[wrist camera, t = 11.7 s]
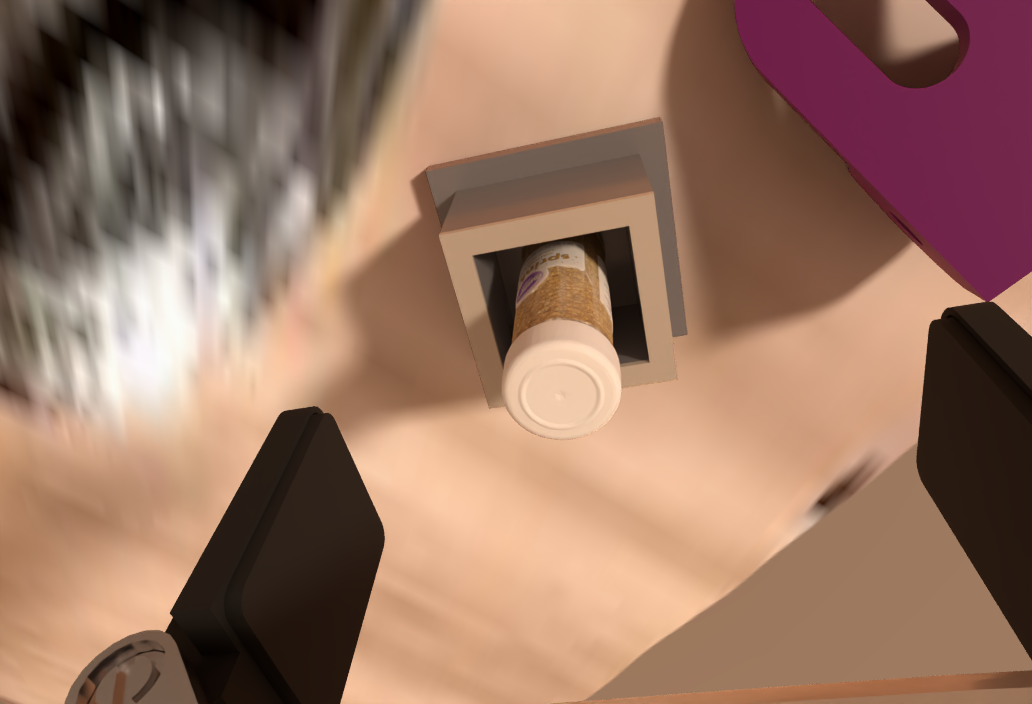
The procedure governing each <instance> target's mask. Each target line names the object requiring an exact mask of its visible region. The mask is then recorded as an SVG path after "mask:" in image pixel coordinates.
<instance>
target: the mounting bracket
mask: <svg viewBox="0 0 1032 704" xmlns="http://www.w3.org/2000/svg"><path fill="white" fill-rule="evenodd" d="M926 1H927V2H928V3H929V4H930V5H931V6H932V7H933V8H934V9H935V10H936V11H937V12H938V13H939V14H940V15H941V16H942V17H943V18H944V19H945V20H946V21H947V22H948V23H949V24H950V25H951V26H952V27H953V28H954V30H955V31H956V33H957V35H958V38H959V43H960V52H959V57H958V61H957V63H956V65H955V67H954V69H953V71H952V72H951V74H950V75H949V76H948V77H947V78H946V79H945V80H943V81H942V82H940V83H938V84H935V85H933V86H929V87H925V88H906V87H903V86H900V85H898V84H896V83H894V82H892V81H891V80H890V79H889V78H888V77H887V76H886V75H885V74H884V73H883V72H882V71H881V70H880V69H879V68H877V67H876V66H875V65H874V64H873V63H872V62H871V61H870V60H869V59H868V58H867V57H866V56H865V55H864V54H863V53H862V52H861V51H860V50H859V49H858V48H857V47H856V46H855V45H854V44H853V43H852V42H851V41H850V40H849V39H848V38H847V37H846V36H845V35H844V34H843V33H842V32H841V31H840V30H839V29H838V28H837V27H836V26H835V25H834V24H833V23H832V22H831V21H830V20H829V19H828V18H827V17H826V16H825V15H824V14H823V13H822V12H821V11H820V10H819V9H818V8H817V7H816V6H815V5H814V4H813V3H812V2H811V1H810V0H735V15H736V22H737V26H738V30H739V34H740V37H741V40H742V42H743V45H744V47H745V49H746V52H747V54H748V56H749V58H750V60H751V62H752V64H753V65H754V67H755V68H756V70H757V71H758V72H759V74H760V75H761V76H762V77H763V78H764V79H765V81H766V82H767V83H768V84H769V85H770V86H771V87H772V88H773V89H774V90H775V91H776V92H777V93H778V94H779V95H780V96H781V97H782V98H783V99H784V100H785V101H786V102H787V103H788V104H789V105H790V106H791V107H792V108H793V109H794V110H795V111H796V112H797V113H798V114H799V115H800V116H801V117H802V118H803V119H804V120H805V121H806V122H807V123H808V124H809V125H810V126H811V127H812V128H813V129H814V130H815V132H816V133H817V134H818V135H819V136H820V137H821V138H822V139H823V140H824V141H825V142H826V143H827V144H828V145H829V146H830V147H831V148H832V149H833V150H834V151H835V152H836V153H837V154H838V155H839V156H840V157H841V158H842V159H843V160H844V161H845V162H846V163H847V165H848V166H849V167H850V168H849V169H848V171H849V173H850V174H851V175H852V177H853V178H854V179H855V180H856V181H857V183H858V184H859V185H860V186H861V187H862V188H863V189H864V190H865V191H866V193H867V194H868V195H869V196H870V197H871V198H872V199H873V200H874V201H875V202H876V203H877V204H878V205H879V206H880V208H881V209H882V210H883V211H884V212H885V213H886V214H887V215H888V216H889V217H890V218H891V219H892V220H893V221H894V222H895V224H896V225H897V226H898V227H899V228H900V229H901V230H902V231H903V232H904V233H905V234H906V235H907V236H908V237H909V238H910V239H911V240H912V241H913V242H914V243H915V244H916V245H917V246H918V247H919V248H920V249H922V250H923V251H924V252H925V253H926V254H927V255H928V256H929V257H930V258H931V259H932V260H933V261H934V262H935V263H936V264H937V265H938V266H939V267H940V268H941V269H943V270H944V271H945V272H946V273H947V274H948V275H949V276H950V277H951V278H953V279H954V280H955V281H956V282H957V283H958V284H960V285H961V286H962V287H963V288H965V289H966V290H968V291H970V292H971V293H973V294H975V295H976V296H978V297H980V298H981V299H983V300H984V301H986V302H989V301H991V300H992V299H993V298H995V297H996V296H998V295H999V294H1000V293H1002V292H1003V291H1005V290H1006V289H1008V288H1009V287H1010V286H1012V285H1013V284H1015V283H1016V282H1017V281H1019V280H1020V279H1022V278H1023V277H1024V276H1026V275H1027V274H1029V273H1030V272H1031V271H1032V0H926Z"/></svg>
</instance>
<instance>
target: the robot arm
mask: <svg viewBox="0 0 1032 704" xmlns="http://www.w3.org/2000/svg"><path fill="white" fill-rule="evenodd" d="M917 469H918V472H919V476H920V478H921V481H922V483H923V485H924V486H925V488H926V489H927V491H928V493H929V494H930V496H931V497H932V499H933V501H934V502H935V504H936V505H937V507H938V509H939V510H940V512H941V514H942V515H943V517H944V519H945V520H946V522H947V523H948V525H949V527H950V528H951V530H952V532H953V533H954V535H955V536H956V538H957V540H958V541H959V543H960V545H961V546H962V548H963V549H964V551H965V553H966V554H967V556H968V558H969V559H970V561H971V562H972V564H973V566H974V567H975V569H976V570H977V572H978V574H979V575H980V577H981V578H982V580H983V582H984V584H985V585H986V587H987V588H988V590H989V591H990V593H991V595H992V596H993V598H994V600H995V601H996V603H997V605H998V606H999V608H1000V609H1001V611H1002V613H1003V614H1004V616H1005V618H1006V619H1007V621H1008V622H1009V624H1010V626H1011V627H1012V629H1013V630H1014V632H1015V634H1016V635H1017V637H1018V639H1019V640H1020V642H1021V644H1022V645H1023V647H1024V648H1025V650H1026V652H1027V653H1028V655H1029V657H1030V658H1031V659H1032V337H1031V336H1030V335H1029V334H1028V333H1027V332H1026V331H1025V330H1024V329H1023V328H1022V327H1021V326H1019V325H1018V324H1017V323H1016V322H1015V321H1014V320H1013V319H1012V318H1011V317H1010V316H1009V315H1008V314H1007V313H1006V312H1004V311H1003V310H1002V309H1001V308H1000V307H999V306H998V305H997V304H995V303H994V302H982V303H976V304H969V305H963V306H956V307H950V308H947V309H945V310H944V312H943V314H942V316H941V319H937V320H933V321H932V322H931V324H930V327H929V333H928V344H927V354H926V364H925V375H924V385H923V396H922V406H921V416H920V427H919V437H918V447H917ZM384 540H385V536H384V529H383V525H382V522H381V520H380V518H379V516H378V514H377V511H376V509H375V507H374V505H373V503H372V500H371V498H370V496H369V494H368V492H367V489H366V487H365V485H364V483H363V481H362V479H361V476H360V474H359V472H358V470H357V468H356V465H355V463H354V461H353V459H352V457H351V454H350V452H349V450H348V448H347V446H346V443H345V441H344V439H343V437H342V435H341V432H340V430H339V428H338V426H337V424H336V421H335V419H334V418H333V416H332V415H331V414H329V413H323V412H322V410H321V409H320V408H319V407H315V406H313V407H307V408H300V409H294V410H287V411H284V412H282V413H281V414H280V415H279V416H278V418H277V420H276V422H275V423H274V425H273V427H272V429H271V431H270V432H269V434H268V436H267V438H266V440H265V442H264V443H263V445H262V447H261V449H260V451H259V452H258V454H257V456H256V458H255V460H254V461H253V463H252V465H251V467H250V469H249V471H248V472H247V474H246V476H245V478H244V480H243V481H242V483H241V485H240V487H239V489H238V490H237V492H236V494H235V496H234V498H233V499H232V501H231V503H230V505H229V507H228V509H227V510H226V512H225V514H224V516H223V518H222V519H221V521H220V523H219V525H218V527H217V528H216V530H215V532H214V534H213V536H212V537H211V539H210V541H209V543H208V545H207V547H206V548H205V550H204V552H203V554H202V556H201V557H200V559H199V561H198V563H197V565H196V566H195V568H194V570H193V572H192V574H191V575H190V577H189V579H188V581H187V583H186V585H185V586H184V588H183V590H182V592H181V594H180V595H179V597H178V599H177V601H176V603H175V604H174V606H173V608H172V610H171V612H170V614H171V615H172V617H173V619H172V620H171V622H170V624H169V626H168V628H167V630H166V631H165V632H163V631H160V630H147V631H142V632H139V633H136V634H132V635H129V636H127V637H125V638H123V639H122V640H120V641H118V642H116V643H114V644H112V645H111V646H110V647H108V648H107V649H106V650H104V651H103V652H102V653H100V654H99V655H97V656H96V657H95V658H94V659H93V660H92V661H91V662H90V663H89V664H88V665H87V666H86V667H85V668H84V669H83V671H82V672H81V673H80V675H79V676H78V678H77V679H76V680H75V682H74V683H73V685H72V686H71V688H70V691H69V693H68V696H67V698H66V700H65V704H340V702H341V699H342V695H343V691H344V688H345V684H346V681H347V677H348V673H349V670H350V666H351V663H352V659H353V655H354V652H355V648H356V645H357V641H358V637H359V634H360V630H361V627H362V623H363V620H364V616H365V612H366V609H367V605H368V602H369V598H370V594H371V591H372V587H373V584H374V580H375V576H376V573H377V569H378V566H379V562H380V558H381V555H382V551H383V548H384ZM553 704H1032V670H1031V671H1013V672H996V673H976V674H957V675H941V676H926V677H912V678H898V679H883V680H869V681H855V682H840V683H826V684H812V685H797V686H783V687H768V688H755V689H740V690H727V691H713V692H700V693H687V694H672V695H659V696H645V697H633V698H619V699H606V700H592V701H579V702H566V703H553Z"/></svg>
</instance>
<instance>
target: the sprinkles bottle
mask: <svg viewBox="0 0 1032 704" xmlns="http://www.w3.org/2000/svg"><path fill="white" fill-rule="evenodd" d="M605 261H606V251H605V246H604V244H603V241H602V239H601V236H600V235H599V234H598V233H597V232H594V233H588V234H583V235H578V236H573V237H567V238H562V239H557V240H552V241H546V242H541V243H536V244H531V245H525V246H523V249H522V268H521V271H520V275H519V282H518V289H517V297H516V314H515V320H514V330H513V338H512V345H511V346H510V348H509V350H508V353H507V355H506V358H505V362H504V369H503V375H502V398H503V401H504V404H505V406H506V409H507V411H508V412H509V414H510V415H511V417H512V418H513V419H514V420H515V421H516V422H517V423H518V424H519V425H520V426H522V427H523V428H524V429H526V430H527V431H529V432H531V433H533V434H535V435H538V436H540V437H544V438H549V439H556V440H569V439H576V438H580V437H583V436H587V435H589V434H591V433H593V432H595V431H597V430H598V429H600V428H601V427H602V426H604V425H605V424H606V423H607V422H608V421H609V420H610V419H611V417H612V416H613V414H614V413H615V411H616V409H617V407H618V405H619V402H620V398H621V371H620V363H619V358H618V356H617V353H616V351H615V349H614V347H613V336H612V333H613V321H612V312H611V301H610V293H609V285H608V276H607V270H606V267H605Z"/></svg>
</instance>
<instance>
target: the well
mask: <svg viewBox="0 0 1032 704" xmlns="http://www.w3.org/2000/svg"><path fill="white" fill-rule="evenodd" d="M426 175H427V178H428V182H429V185H430V189H431V192H432V196H433V199H434V202H435V206H436V209H437V213H438V216H439V220H440V223H441V227H442V229H441V231H440V234H439V239H440V242H441V245H442V249H443V252H444V256H445V259H446V262H447V266H448V269H449V273H450V276H451V279H452V283H453V286H454V290H455V293H456V296H457V300H458V303H459V307H460V310H461V314H462V317H463V320H464V324H465V327H466V331H467V334H468V337H469V341H470V344H471V348H472V351H473V354H474V358H475V361H476V365H477V368H478V371H479V375H480V378H481V382H482V385H483V389H484V392H485V395H486V399H487V402H488V406H489V409H490V408H497V407H503V406H505V404H504V401H503V398H502V375H503V369H504V362H505V358H506V355H507V353H508V350H509V348H510V346H511V345H512V338H513V330H514V320H515V314H516V297H517V289H518V282H519V275H520V271H521V268H522V249H523V246H525V245H531V244H536V243H541V242H546V241H552V240H557V239H562V238H567V237H573V236H578V235H583V234H588V233H594V232H597V233H598V234H599V235H600V236H601V239H602V241H603V244H604V246H605V251H606V261H605V267H606V270H607V276H608V285H609V293H610V301H611V312H612V321H613V333H612V336H613V347H614V349H615V351H616V353H617V356H618V358H619V363H620V371H621V388H626V387H633V386H639V385H646V384H652V383H659V382H665V381H672V380H678V377H677V369H676V361H675V353H674V346H673V338H672V337H677V336H683V335H687V327H686V318H685V309H684V301H683V292H682V284H681V275H680V266H679V258H678V249H677V241H676V232H675V224H674V215H673V206H672V198H671V189H670V181H669V172H668V163H667V155H666V146H665V138H664V129H663V121H662V120H661V118H660V117H658V118H653V119H649V120H644V121H639V122H634V123H630V124H625V125H620V126H616V127H611V128H606V129H601V130H597V131H592V132H587V133H583V134H578V135H573V136H569V137H564V138H559V139H554V140H550V141H545V142H540V143H536V144H531V145H526V146H522V147H517V148H512V149H507V150H503V151H498V152H493V153H489V154H484V155H479V156H475V157H470V158H465V159H460V160H456V161H451V162H446V163H442V164H437V165H432V166H429V167H428V168H427V170H426Z"/></svg>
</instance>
